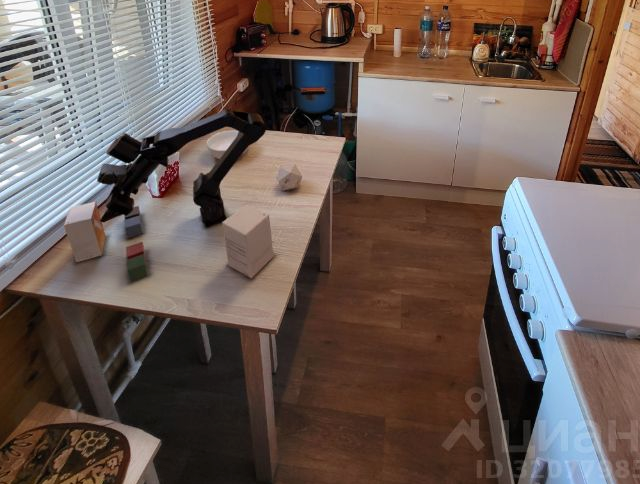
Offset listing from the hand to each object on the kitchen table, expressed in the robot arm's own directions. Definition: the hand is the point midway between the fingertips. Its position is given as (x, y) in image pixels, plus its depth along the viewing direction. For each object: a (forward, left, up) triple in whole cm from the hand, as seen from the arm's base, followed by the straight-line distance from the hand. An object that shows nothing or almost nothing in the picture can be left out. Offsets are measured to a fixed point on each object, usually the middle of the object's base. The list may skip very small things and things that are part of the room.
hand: (104, 210), depth 107 cm
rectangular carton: (-33, +27, -12) cm, 44 cm away
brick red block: (-6, +10, -12) cm, 17 cm away
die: (-55, +1, -12) cm, 56 cm away
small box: (+5, -1, -12) cm, 13 cm away
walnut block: (-6, -7, -12) cm, 15 cm away
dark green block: (-6, +16, -12) cm, 20 cm away
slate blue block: (-6, -2, -12) cm, 13 cm away
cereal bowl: (-42, -32, -12) cm, 54 cm away
